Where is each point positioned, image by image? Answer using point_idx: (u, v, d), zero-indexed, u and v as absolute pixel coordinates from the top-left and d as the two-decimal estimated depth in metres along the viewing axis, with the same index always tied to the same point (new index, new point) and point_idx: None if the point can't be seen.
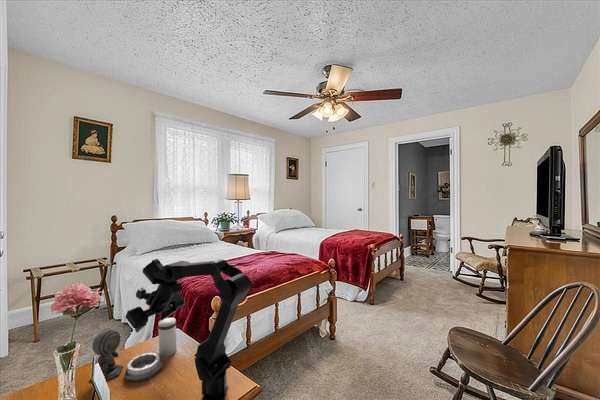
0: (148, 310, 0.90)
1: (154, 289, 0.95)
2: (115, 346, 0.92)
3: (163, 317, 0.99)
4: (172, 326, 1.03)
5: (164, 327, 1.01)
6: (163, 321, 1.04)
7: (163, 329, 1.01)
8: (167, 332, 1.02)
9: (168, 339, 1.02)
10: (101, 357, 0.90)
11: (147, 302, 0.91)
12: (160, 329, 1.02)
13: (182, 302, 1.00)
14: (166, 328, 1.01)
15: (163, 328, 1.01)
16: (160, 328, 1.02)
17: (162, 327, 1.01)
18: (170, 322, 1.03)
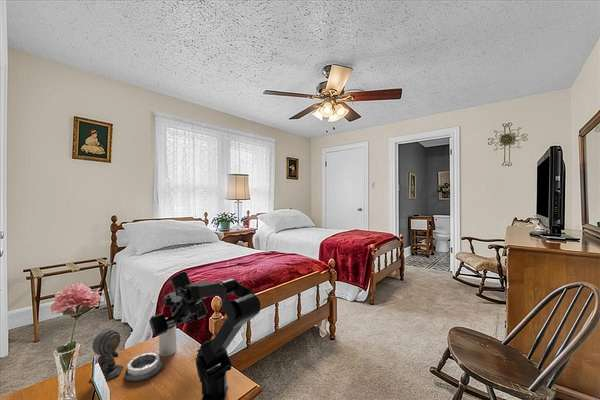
0: (170, 318, 0.94)
1: (179, 298, 0.98)
2: (115, 346, 0.92)
3: (186, 321, 1.03)
4: (172, 326, 1.03)
5: None
6: None
7: None
8: (167, 332, 1.02)
9: (168, 339, 1.02)
10: (101, 357, 0.90)
11: (171, 310, 0.95)
12: None
13: (204, 313, 1.01)
14: None
15: None
16: None
17: None
18: None
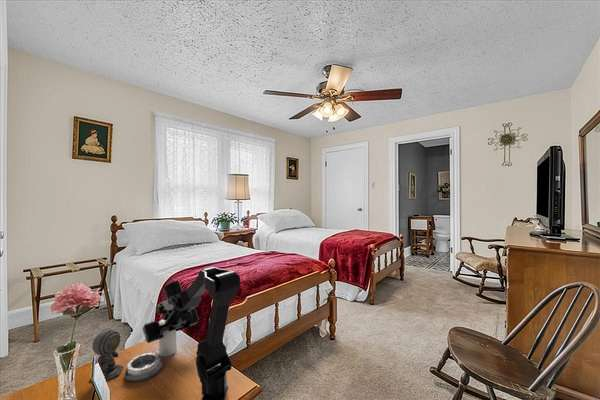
0: (163, 326, 0.98)
1: (172, 305, 1.02)
2: (115, 346, 0.92)
3: None
4: None
5: None
6: (163, 321, 1.04)
7: None
8: (167, 332, 1.02)
9: (168, 339, 1.02)
10: (101, 357, 0.90)
11: (163, 318, 0.99)
12: None
13: (196, 320, 1.06)
14: None
15: None
16: None
17: None
18: None
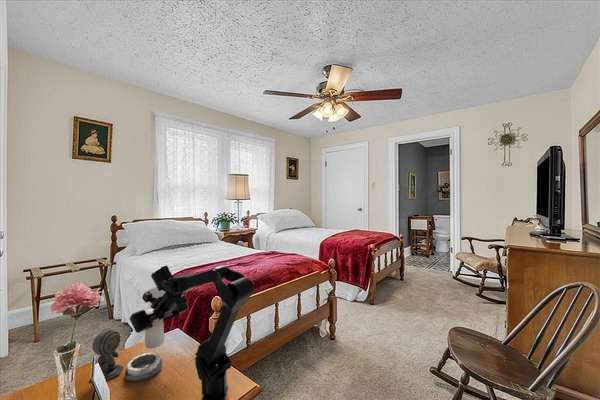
0: (152, 314, 0.92)
1: (160, 293, 0.96)
2: (115, 346, 0.92)
3: None
4: None
5: None
6: (149, 311, 0.98)
7: None
8: (155, 321, 0.96)
9: (156, 329, 0.96)
10: (101, 357, 0.90)
11: (152, 306, 0.93)
12: None
13: (185, 308, 1.01)
14: None
15: None
16: None
17: None
18: None
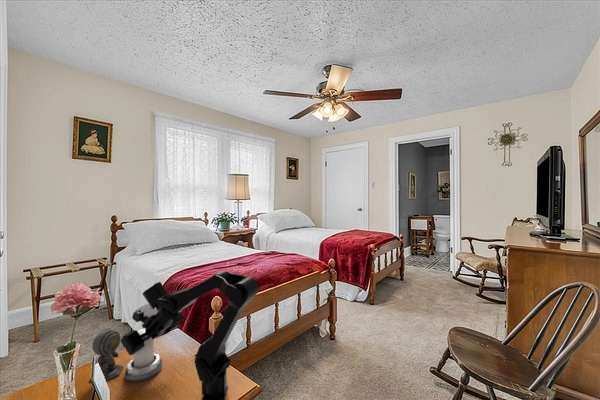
0: (144, 334, 0.88)
1: (151, 311, 0.92)
2: (115, 346, 0.92)
3: None
4: None
5: None
6: None
7: None
8: (145, 343, 0.91)
9: (147, 351, 0.92)
10: (101, 357, 0.90)
11: (144, 325, 0.89)
12: None
13: (177, 324, 0.98)
14: None
15: None
16: None
17: None
18: None
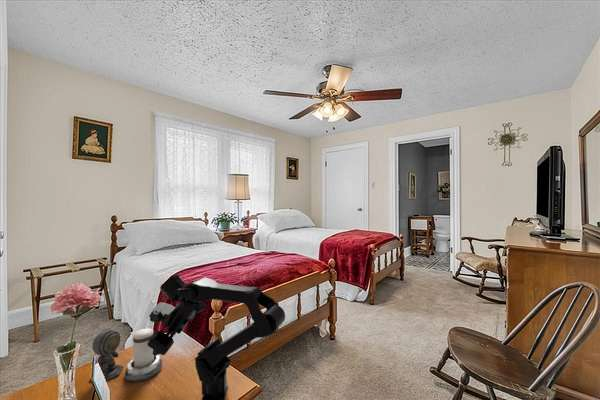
0: (169, 332, 0.84)
1: (167, 308, 0.87)
2: (115, 346, 0.92)
3: None
4: None
5: (143, 339, 0.90)
6: (138, 333, 0.92)
7: (141, 341, 0.90)
8: (146, 344, 0.91)
9: (148, 351, 0.92)
10: (101, 357, 0.90)
11: (165, 324, 0.84)
12: (137, 342, 0.90)
13: (194, 313, 0.95)
14: (145, 340, 0.91)
15: (141, 340, 0.90)
16: (137, 341, 0.90)
17: (140, 339, 0.90)
18: (148, 333, 0.93)
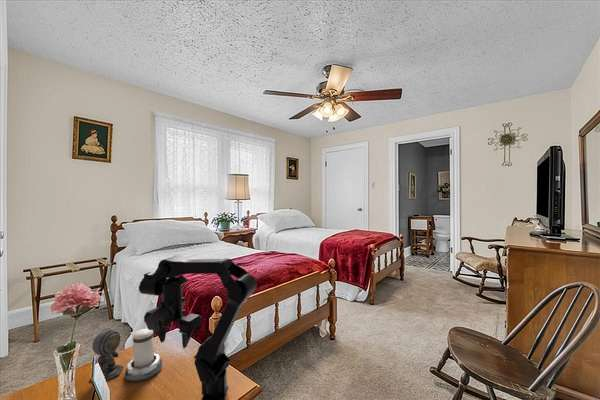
0: (182, 317, 0.85)
1: (158, 312, 0.82)
2: (115, 346, 0.92)
3: (164, 335, 0.89)
4: (151, 337, 0.93)
5: (142, 339, 0.90)
6: (138, 333, 0.92)
7: (141, 341, 0.90)
8: (146, 344, 0.91)
9: (147, 351, 0.92)
10: (101, 357, 0.90)
11: (173, 317, 0.83)
12: (137, 342, 0.90)
13: None
14: (145, 340, 0.91)
15: (141, 340, 0.90)
16: (137, 341, 0.90)
17: (140, 339, 0.90)
18: (148, 333, 0.93)
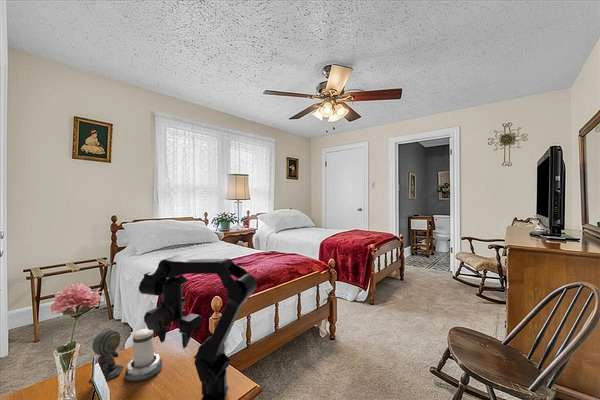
0: (182, 317, 0.85)
1: (158, 312, 0.82)
2: (115, 346, 0.92)
3: (164, 335, 0.89)
4: (151, 337, 0.93)
5: (143, 339, 0.90)
6: (138, 333, 0.93)
7: (141, 341, 0.90)
8: (146, 344, 0.91)
9: (147, 351, 0.92)
10: (101, 357, 0.90)
11: (173, 317, 0.83)
12: (137, 342, 0.90)
13: None
14: (145, 340, 0.91)
15: (141, 340, 0.90)
16: (137, 341, 0.90)
17: (140, 339, 0.90)
18: (148, 333, 0.93)
